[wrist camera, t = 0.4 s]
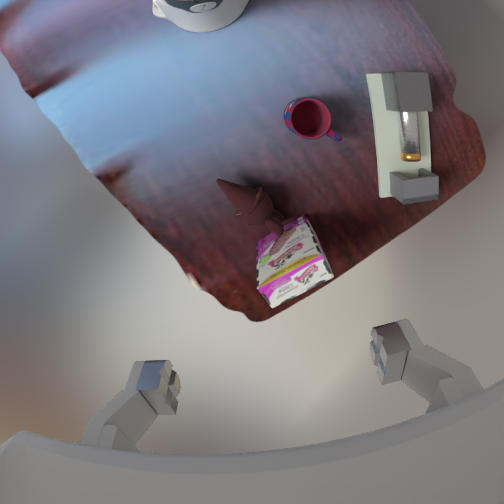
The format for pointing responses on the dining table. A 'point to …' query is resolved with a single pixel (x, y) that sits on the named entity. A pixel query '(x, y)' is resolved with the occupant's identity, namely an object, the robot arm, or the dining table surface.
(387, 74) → the dark grey cube cap
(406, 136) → the tube
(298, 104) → the mug
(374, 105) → the board
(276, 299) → the candy bar box
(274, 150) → the dining table surface
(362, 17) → the dining table surface
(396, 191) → the socket
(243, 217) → the icecream
